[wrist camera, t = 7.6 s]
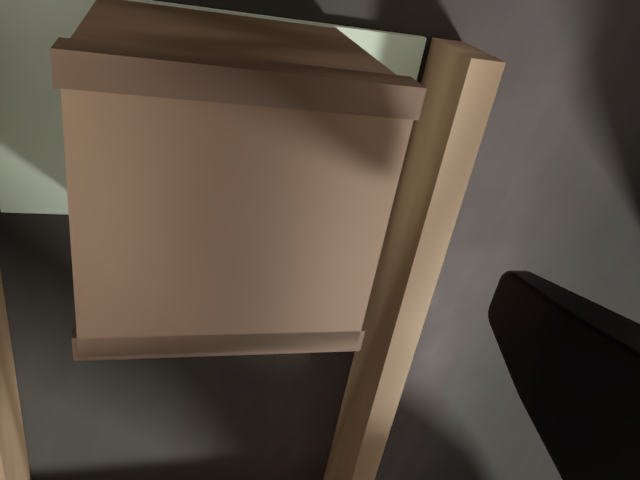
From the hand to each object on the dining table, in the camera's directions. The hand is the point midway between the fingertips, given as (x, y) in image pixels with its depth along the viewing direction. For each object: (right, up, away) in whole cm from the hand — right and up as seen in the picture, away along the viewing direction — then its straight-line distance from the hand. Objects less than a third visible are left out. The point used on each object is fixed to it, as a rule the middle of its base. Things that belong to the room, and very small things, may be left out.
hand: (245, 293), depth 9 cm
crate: (-2, +4, +7) cm, 8 cm away
